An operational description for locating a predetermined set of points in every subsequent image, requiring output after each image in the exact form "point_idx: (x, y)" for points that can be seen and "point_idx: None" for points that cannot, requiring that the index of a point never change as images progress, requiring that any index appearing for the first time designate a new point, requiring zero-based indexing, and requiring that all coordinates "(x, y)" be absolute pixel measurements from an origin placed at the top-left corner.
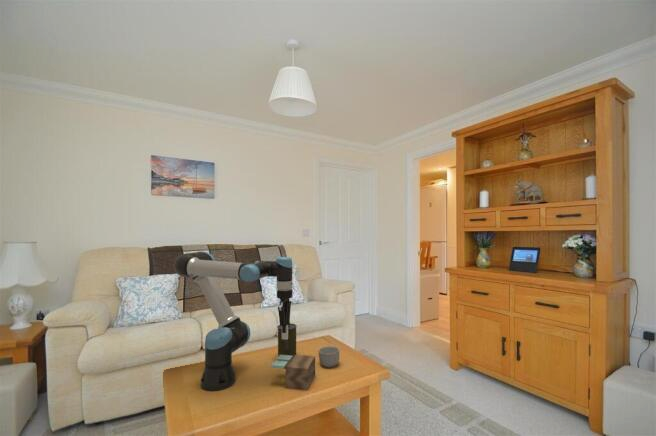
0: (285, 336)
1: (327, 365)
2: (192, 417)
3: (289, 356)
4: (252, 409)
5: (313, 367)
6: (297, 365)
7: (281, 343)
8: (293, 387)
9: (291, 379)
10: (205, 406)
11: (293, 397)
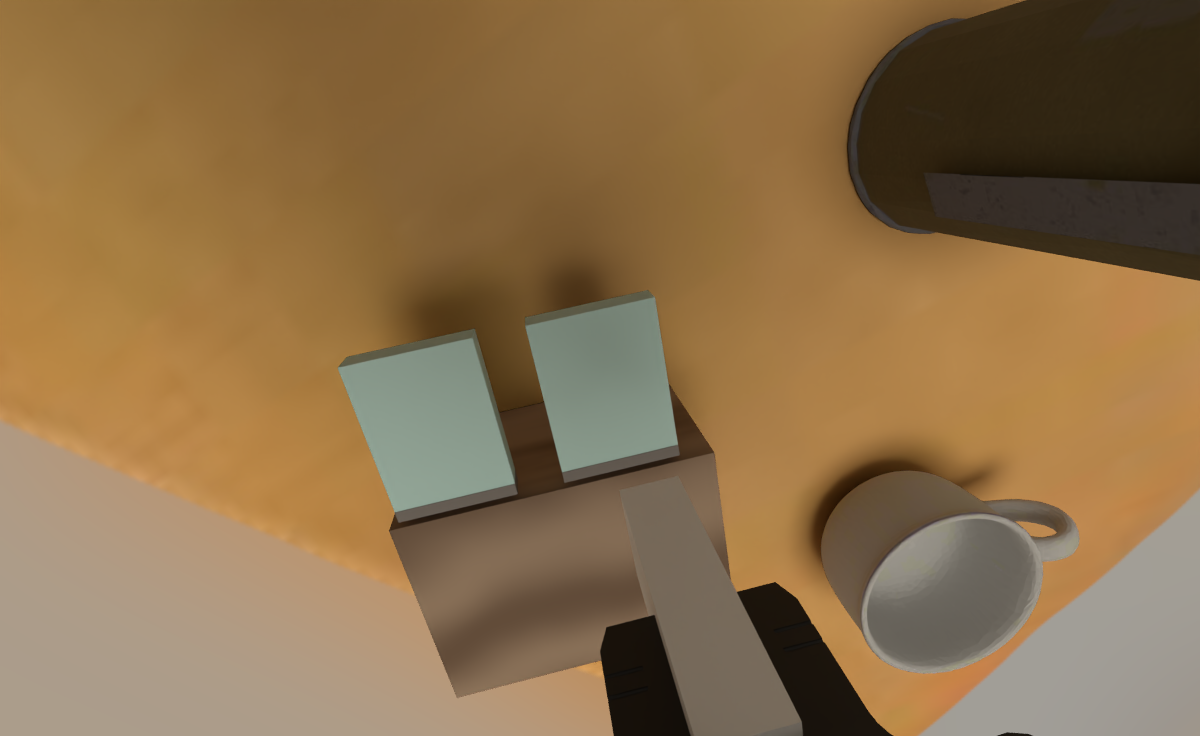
0: (643, 591)
1: (821, 553)
2: None
3: (646, 424)
4: (17, 389)
5: None
6: (478, 603)
7: (1002, 104)
8: None
9: None
10: None
11: (341, 540)
